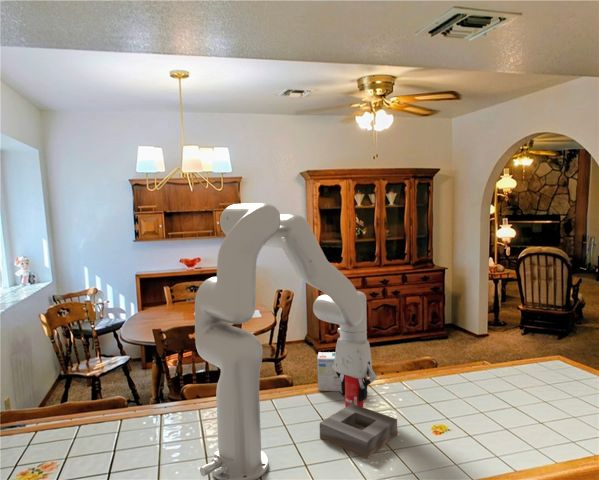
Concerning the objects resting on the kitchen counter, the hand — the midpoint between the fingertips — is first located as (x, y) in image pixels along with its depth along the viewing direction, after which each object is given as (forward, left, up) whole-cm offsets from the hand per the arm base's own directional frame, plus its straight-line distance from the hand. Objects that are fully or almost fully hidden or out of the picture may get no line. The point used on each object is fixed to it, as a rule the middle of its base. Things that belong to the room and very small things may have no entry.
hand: (354, 396), depth 123 cm
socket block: (-11, -9, -4) cm, 15 cm away
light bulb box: (+9, +14, -4) cm, 17 cm away
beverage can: (0, 0, -4) cm, 4 cm away
